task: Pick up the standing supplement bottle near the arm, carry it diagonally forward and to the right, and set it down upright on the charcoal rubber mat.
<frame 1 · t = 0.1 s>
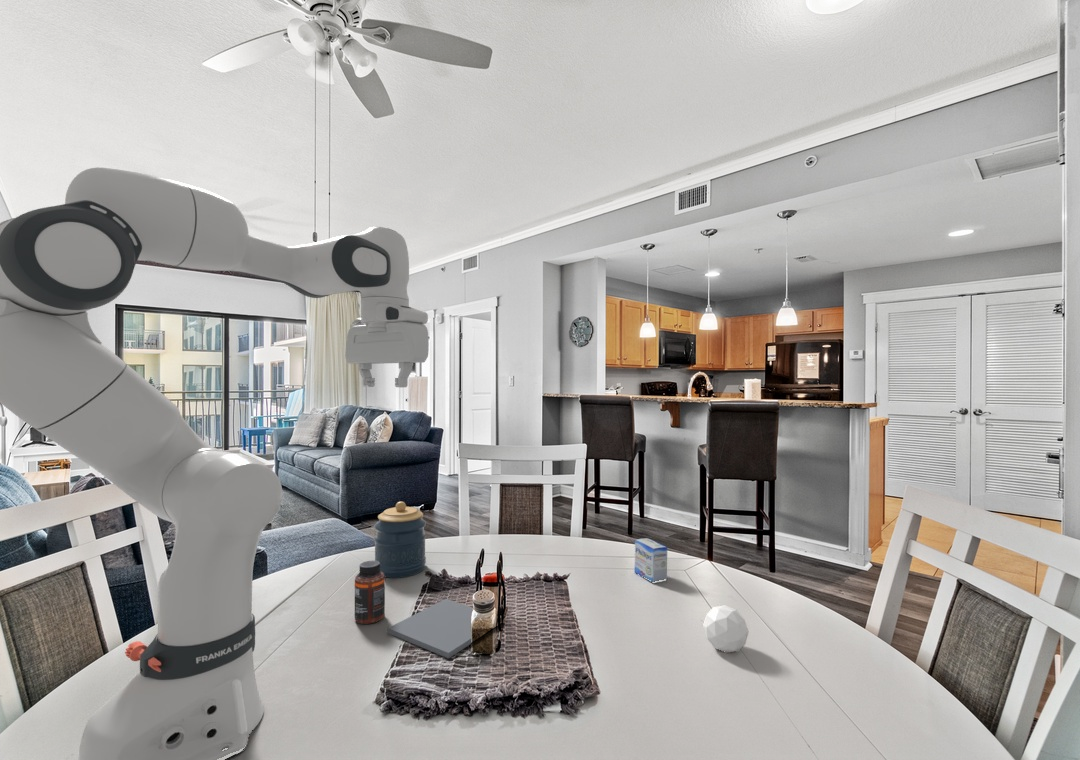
hand: (384, 387, 97), 48 cm above the table, tool pointing down, fingers open, 8 cm apart
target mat: (447, 627, 100), on the table
supplement bottle: (369, 619, 103), on the table
canister: (400, 570, 131), on the table
geometric ball: (725, 650, 93), on the table
medicine box: (650, 578, 127), on the table
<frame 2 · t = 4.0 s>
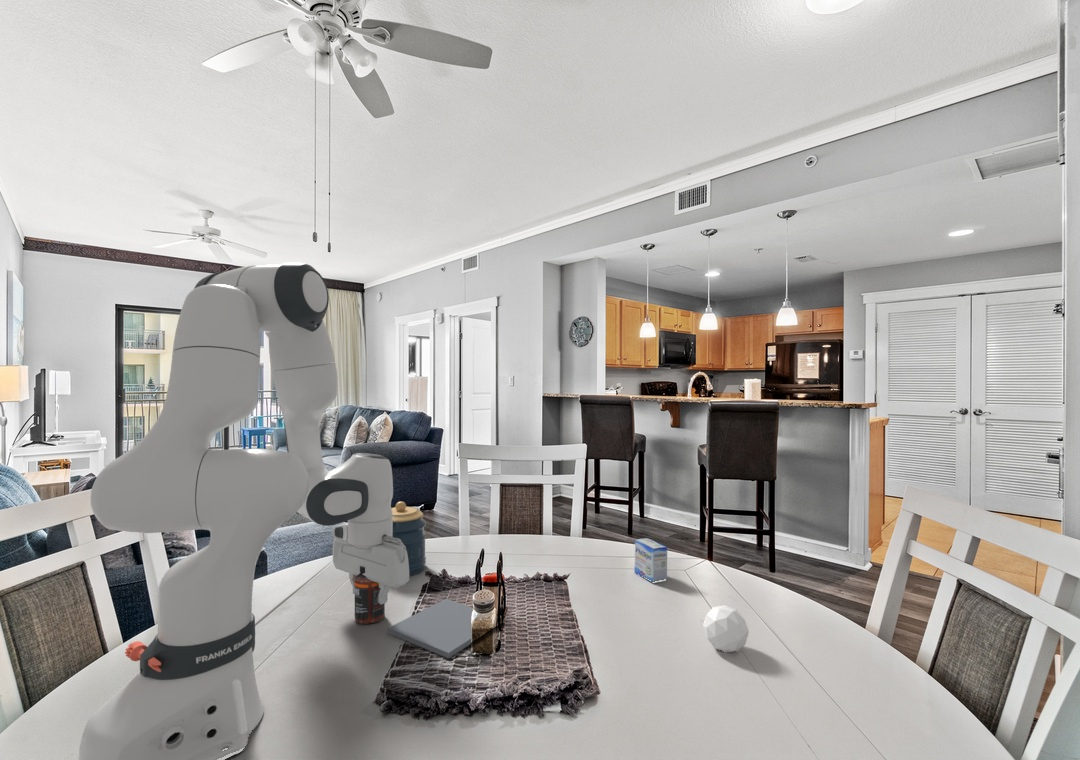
hand: (369, 598, 103), 4 cm above the table, tool pointing down, fingers closed on supplement bottle, 6 cm apart
supplement bottle: (369, 619, 103), on the table, touching gripper
everything else where it was.
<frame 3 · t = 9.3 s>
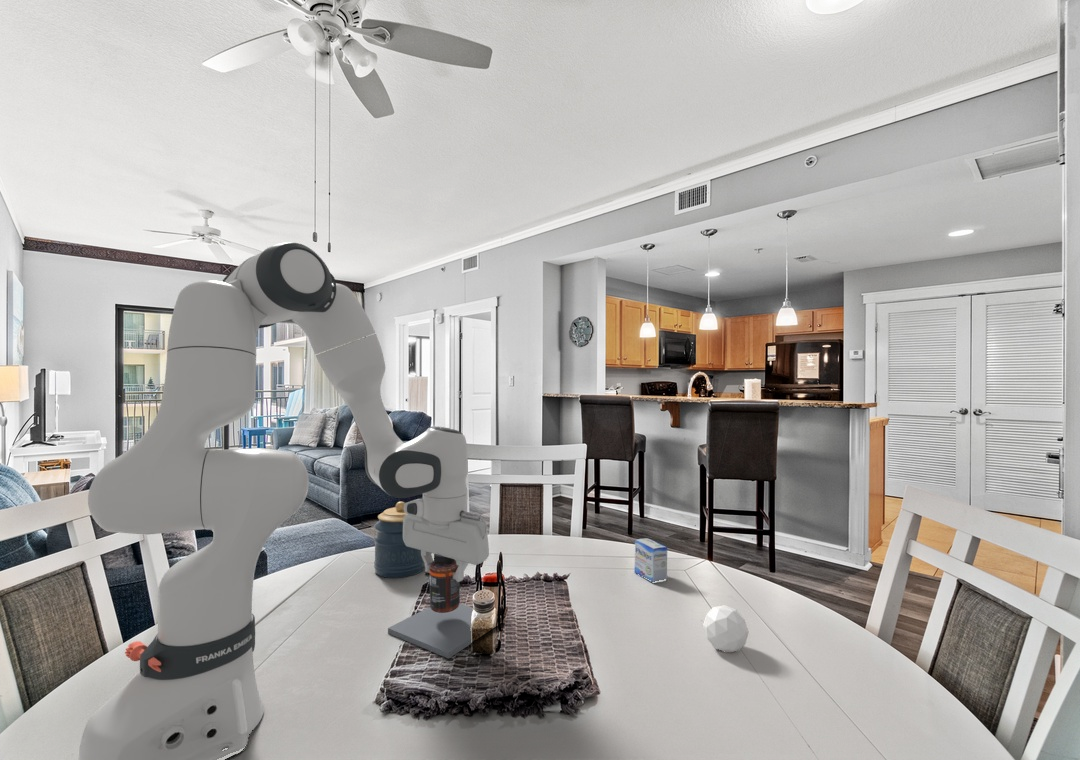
hand: (444, 576, 101), 10 cm above the table, tool pointing down, fingers closed on supplement bottle, 6 cm apart
supplement bottle: (444, 607, 101), point 3 cm above the table, touching gripper
everything else where it was.
when the fingers open (7 cm above the table, at t = 10.9 s): supplement bottle stays where it is, resting on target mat.
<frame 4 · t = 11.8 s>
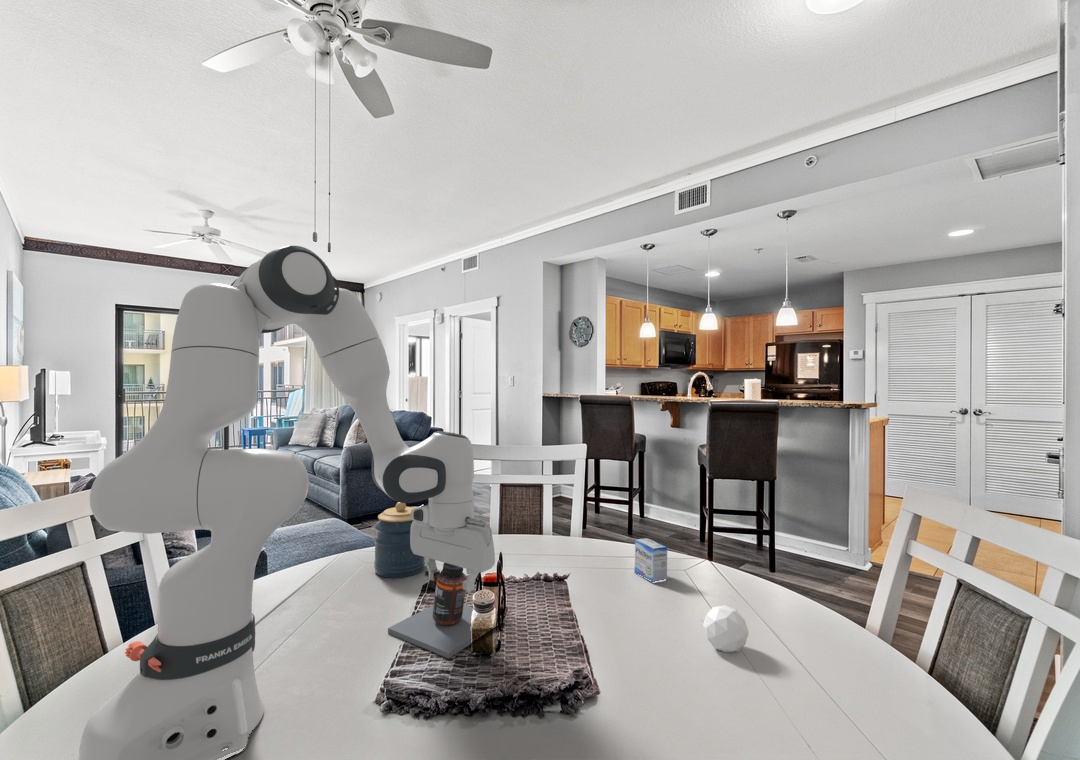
hand: (450, 584, 98), 9 cm above the table, tool pointing down, fingers open, 8 cm apart
supplement bottle: (446, 619, 101), point 1 cm above the table, touching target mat
everything else where it was.
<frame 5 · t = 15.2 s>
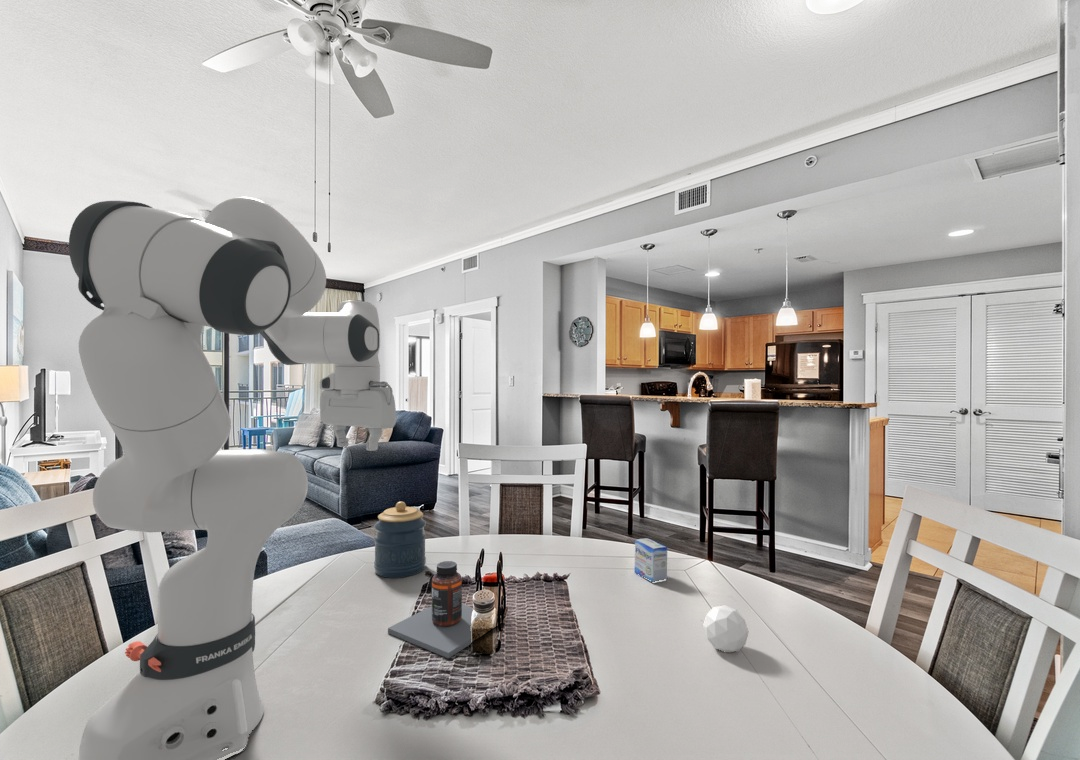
hand: (356, 448, 103), 35 cm above the table, tool pointing down, fingers open, 8 cm apart
at the end: supplement bottle inside the target area on the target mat (0.9 cm from its centre), point 0.8 cm above the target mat's base; supplement bottle tilted 0°; the gripper is holding nothing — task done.
